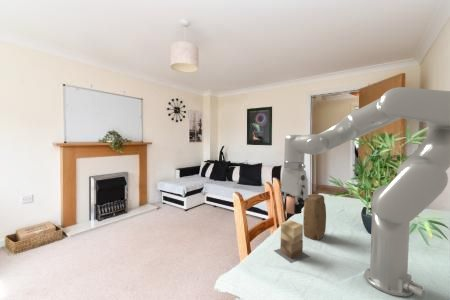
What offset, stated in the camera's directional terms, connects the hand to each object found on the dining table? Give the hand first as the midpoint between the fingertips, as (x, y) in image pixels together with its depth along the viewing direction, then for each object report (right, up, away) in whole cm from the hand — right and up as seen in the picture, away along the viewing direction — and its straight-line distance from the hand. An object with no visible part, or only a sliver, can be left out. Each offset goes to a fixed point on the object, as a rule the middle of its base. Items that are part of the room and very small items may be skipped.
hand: (292, 210), depth 85 cm
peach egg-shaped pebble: (0, 0, 0) cm, 0 cm away
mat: (0, -18, +1) cm, 18 cm away
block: (+16, -17, +17) cm, 29 cm away
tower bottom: (0, -17, +1) cm, 17 cm away
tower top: (0, -11, 0) cm, 11 cm away
